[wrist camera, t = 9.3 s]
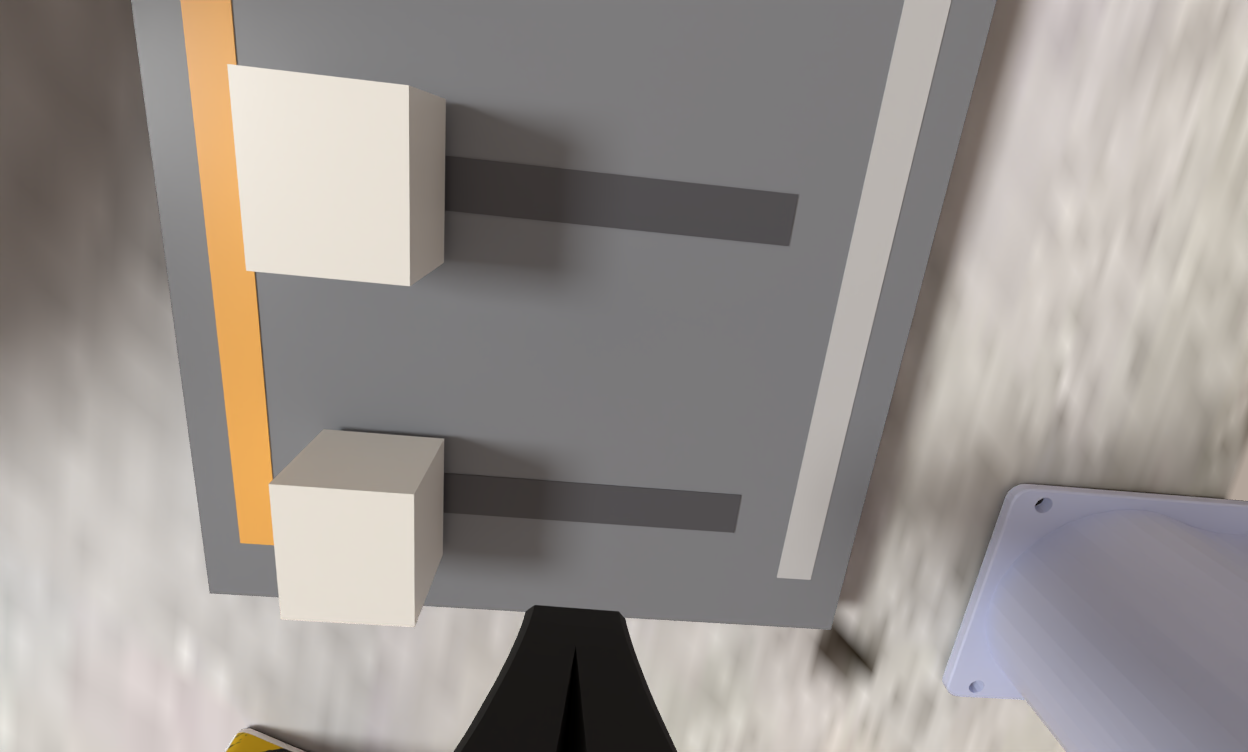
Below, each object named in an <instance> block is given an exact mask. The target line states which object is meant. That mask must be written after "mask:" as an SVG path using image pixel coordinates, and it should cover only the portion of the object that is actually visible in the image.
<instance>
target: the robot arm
mask: <svg viewBox="0 0 1248 752" xmlns="http://www.w3.org/2000/svg"><path fill="white" fill-rule="evenodd" d="M1042 498H1044V499H1043V501H1042V502H1041V503H1040V504H1039V505H1037V506H1035V505H1036V503H1037V502H1038V501H1039V500H1040V499H1042ZM942 682H943V684H944V686H945V687H946V689H947V690H948V692H949V693H950V694H952V695H954V696H963V697H982V698H1002V699H1021V700H1026V701H1027V703H1028V704H1029V705H1030V706H1031V708H1032V709H1033V710H1034V711H1035V713H1036V714H1037V715H1038V717H1039V718H1040V719H1041V720H1042V722H1043V723H1044V724H1045V725H1046V727H1047V728H1048V729H1049V731H1050V732H1051V733H1052V734H1053V736H1054V737H1055V738H1056V739H1057V741H1058V742H1059V743H1060V745H1061V746H1062V747H1063V748H1064V750H1065V751H1066V752H1248V501H1240V500H1228V499H1215V498H1203V497H1190V496H1177V495H1164V494H1151V493H1138V492H1126V491H1113V490H1100V489H1087V488H1074V487H1061V486H1049V485H1036V484H1019V485H1017V486H1015V487H1013V488H1012V489H1011V490H1010V491H1008V493H1007V495H1006V497H1005V499H1004V502H1003V505H1002V508H1001V511H1000V514H999V516H998V519H997V522H996V525H995V528H994V531H993V534H992V537H991V539H990V542H989V545H988V548H987V551H986V554H985V557H984V560H983V563H982V565H981V568H980V571H979V574H978V577H977V580H976V583H975V586H974V589H973V591H972V594H971V597H970V600H969V603H968V606H967V609H966V612H965V615H964V617H963V620H962V623H961V626H960V629H959V632H958V635H957V638H956V640H955V643H954V646H953V649H952V652H951V655H950V658H949V661H948V664H947V666H946V669H945V672H944V675H943V680H942ZM454 752H677V750H676V748H675V746H674V744H673V742H672V739H671V737H670V735H669V733H668V731H667V729H666V726H665V724H664V722H663V720H662V718H661V716H660V713H659V711H658V709H657V707H656V704H655V702H654V700H653V697H652V695H651V693H650V690H649V688H648V685H647V683H646V680H645V678H644V675H643V673H642V670H641V667H640V665H639V662H638V659H637V656H636V654H635V651H634V648H633V645H632V642H631V639H630V635H629V632H628V628H627V625H626V620H625V618H624V617H623V616H622V615H621V613H620V612H619V611H608V610H595V609H582V608H569V607H555V606H542V605H534V606H532V607H531V608H530V609H528V610H527V611H526V613H525V616H524V620H523V623H522V626H521V628H520V631H519V633H518V636H517V638H516V640H515V643H514V645H513V647H512V649H511V652H510V654H509V656H508V658H507V660H506V662H505V664H504V666H503V668H502V670H501V672H500V674H499V676H498V678H497V679H496V681H495V683H494V685H493V687H492V688H491V690H490V692H489V694H488V695H487V697H486V699H485V701H484V702H483V704H482V706H481V708H480V709H479V711H478V713H477V715H476V717H475V718H474V720H473V722H472V723H471V725H470V727H469V728H468V730H467V732H466V733H465V735H464V737H463V738H462V740H461V741H460V743H459V744H458V746H457V747H456V749H455V750H454Z"/></svg>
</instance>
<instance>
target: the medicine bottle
mask: <svg viewBox="0 0 1248 752" xmlns="http://www.w3.org/2000/svg"><path fill="white" fill-rule="evenodd" d="M224 752H306V751H303V750H301V749H298V748H296V747H294V746H291V745H289V744H287V743H284V742H282V741H280V740H277V739H275V738H272V737H270V736H268V735H265V734H263V733H261V732H258V731H256V730H254V729H251V728H247V729H241V730H240V731H239V732H238V733H237V734H236V735H235V736H234V737H233V738H232V740H231V741H230V743H229V744H228V746H227V747H226V749H225V751H224Z"/></svg>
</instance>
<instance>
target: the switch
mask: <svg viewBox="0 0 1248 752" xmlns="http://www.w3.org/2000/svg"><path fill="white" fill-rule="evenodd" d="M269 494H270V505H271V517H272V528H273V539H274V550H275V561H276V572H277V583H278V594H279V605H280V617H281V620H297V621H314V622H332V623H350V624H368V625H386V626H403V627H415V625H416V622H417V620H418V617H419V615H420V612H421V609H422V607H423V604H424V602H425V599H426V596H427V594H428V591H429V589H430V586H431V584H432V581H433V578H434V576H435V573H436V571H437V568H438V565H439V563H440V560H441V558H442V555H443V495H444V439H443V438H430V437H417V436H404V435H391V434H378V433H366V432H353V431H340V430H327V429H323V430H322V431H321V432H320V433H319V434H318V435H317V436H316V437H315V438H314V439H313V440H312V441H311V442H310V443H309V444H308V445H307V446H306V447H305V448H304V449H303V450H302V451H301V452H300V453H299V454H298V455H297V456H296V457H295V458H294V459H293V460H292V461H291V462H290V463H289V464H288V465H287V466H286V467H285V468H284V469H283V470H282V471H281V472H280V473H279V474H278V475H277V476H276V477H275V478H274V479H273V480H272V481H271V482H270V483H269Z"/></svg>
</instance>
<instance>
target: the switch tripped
mask: <svg viewBox="0 0 1248 752" xmlns="http://www.w3.org/2000/svg"><path fill="white" fill-rule="evenodd" d="M227 68H228V79H229V90H230V100H231V111H232V122H233V133H234V144H235V155H236V166H237V177H238V188H239V199H240V210H241V220H242V231H243V242H244V253H245V264H246V271H254V272H265V273H275V274H286V275H296V276H307V277H317V278H328V279H338V280H349V281H359V282H370V283H380V284H391V285H402V286H411V285H413V284H414V283H415V282H417V281H418V280H420V279H421V278H423V277H424V276H425V275H427V274H428V273H430V272H431V271H433V270H434V269H435V268H437V267H438V266H440V265H441V264H443V263H444V217H445V132H446V99H444V98H441V97H439V96H436V95H433V94H431V93H428V92H425V91H423V90H420V89H417V88H415V87H412V86H409V85H402V84H393V83H385V82H376V81H368V80H359V79H351V78H342V77H334V76H325V75H317V74H308V73H300V72H291V71H283V70H274V69H266V68H257V67H249V66H240V65H232V64H227Z"/></svg>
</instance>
